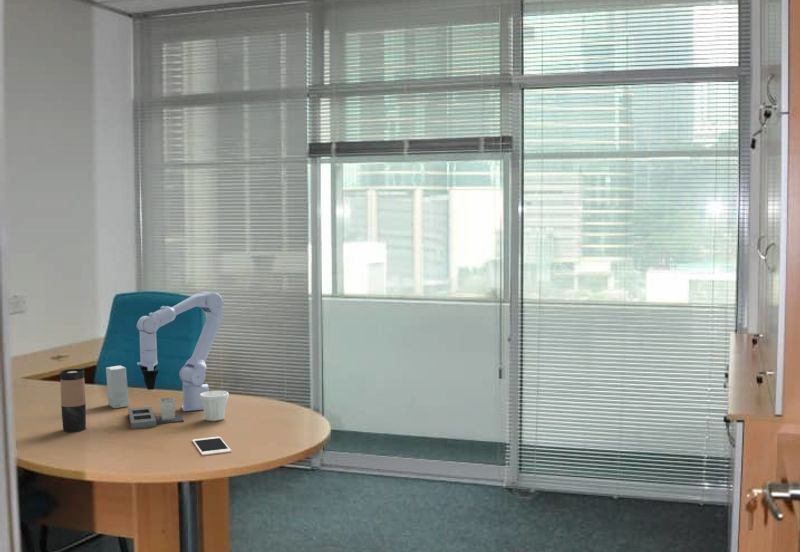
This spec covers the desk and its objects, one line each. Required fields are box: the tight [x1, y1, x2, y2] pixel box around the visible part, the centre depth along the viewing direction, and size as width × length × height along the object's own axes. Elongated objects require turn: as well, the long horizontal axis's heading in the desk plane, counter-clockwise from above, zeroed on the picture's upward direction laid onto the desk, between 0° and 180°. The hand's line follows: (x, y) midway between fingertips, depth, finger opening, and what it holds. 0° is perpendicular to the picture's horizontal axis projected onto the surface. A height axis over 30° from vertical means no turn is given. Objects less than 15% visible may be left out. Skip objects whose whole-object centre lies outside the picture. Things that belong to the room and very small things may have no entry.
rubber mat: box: [155, 414, 184, 425], centre depth 291 cm, size 9×9×1 cm
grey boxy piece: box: [158, 396, 177, 421], centre depth 290 cm, size 5×5×7 cm
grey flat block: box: [127, 406, 157, 430], centre depth 290 cm, size 8×22×2 cm, turn 21°
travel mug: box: [59, 368, 87, 433], centre depth 278 cm, size 8×8×20 cm
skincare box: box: [105, 365, 130, 409], centre depth 313 cm, size 8×6×15 cm
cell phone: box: [191, 436, 232, 457], centre depth 257 cm, size 9×18×1 cm, turn 24°
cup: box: [200, 390, 230, 422], centre depth 290 cm, size 10×10×9 cm
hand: (149, 387), depth 296 cm, fingers open, 7 cm apart
